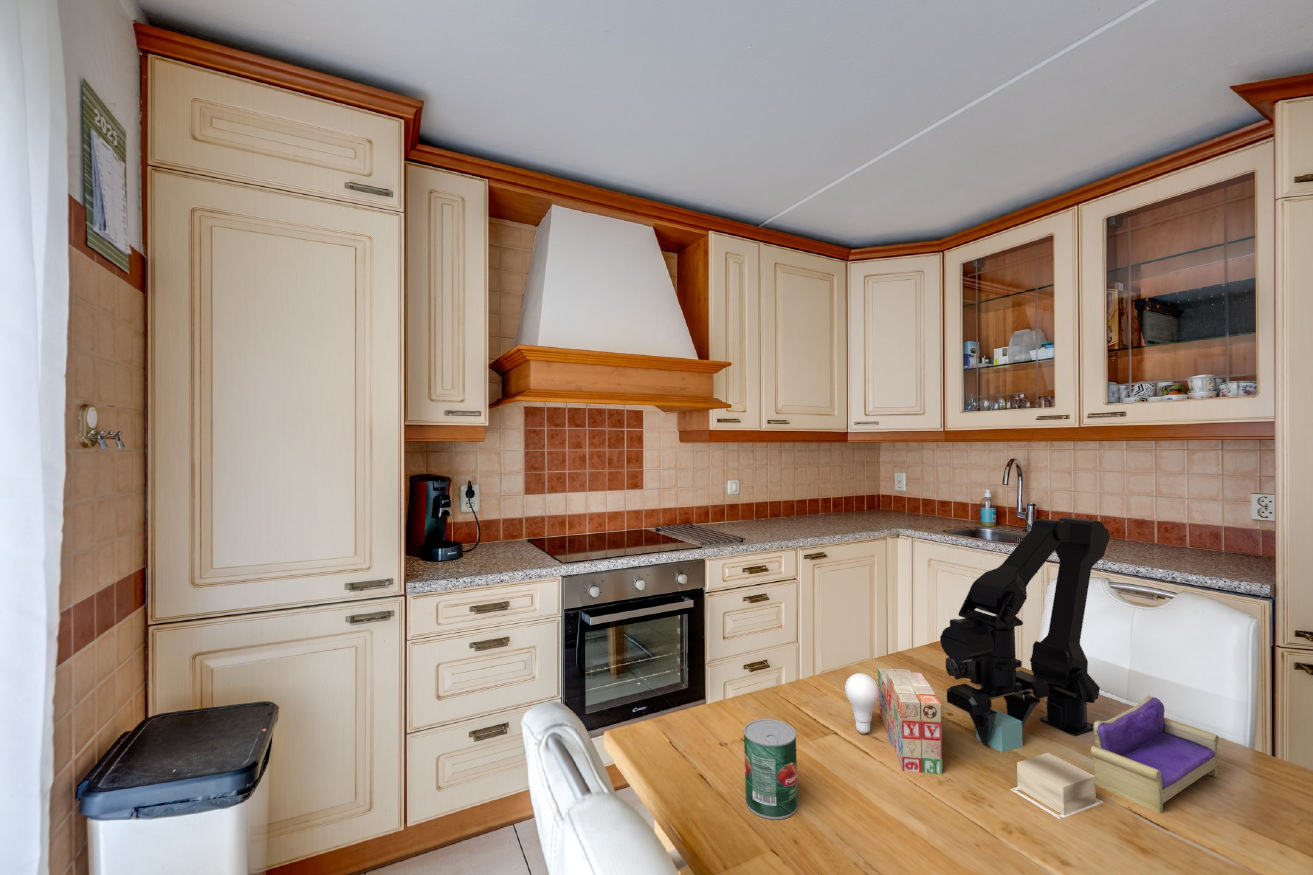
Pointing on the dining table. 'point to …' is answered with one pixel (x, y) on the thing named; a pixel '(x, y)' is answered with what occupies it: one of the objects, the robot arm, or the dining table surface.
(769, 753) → the canned tomato
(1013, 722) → the teal block
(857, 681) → the lightbulb
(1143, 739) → the toy sofa
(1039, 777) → the block
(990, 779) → the dining table surface
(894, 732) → the stack of blocks
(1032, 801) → the building mat
